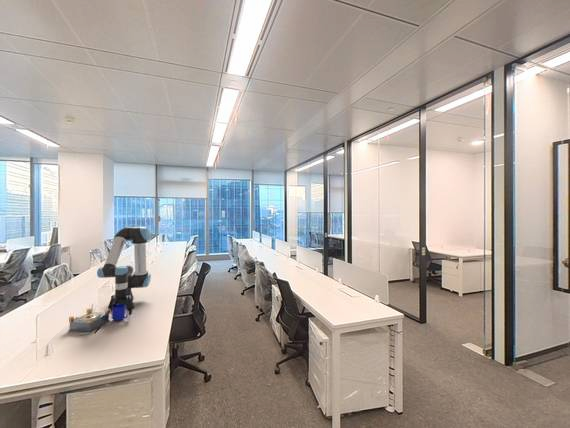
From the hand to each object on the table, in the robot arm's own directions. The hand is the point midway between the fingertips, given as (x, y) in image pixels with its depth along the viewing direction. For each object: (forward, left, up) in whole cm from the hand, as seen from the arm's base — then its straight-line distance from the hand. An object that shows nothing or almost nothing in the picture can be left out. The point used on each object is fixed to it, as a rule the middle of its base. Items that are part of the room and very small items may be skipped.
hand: (121, 318), depth 184 cm
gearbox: (+11, -14, -1) cm, 18 cm away
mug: (0, 0, -1) cm, 1 cm away
